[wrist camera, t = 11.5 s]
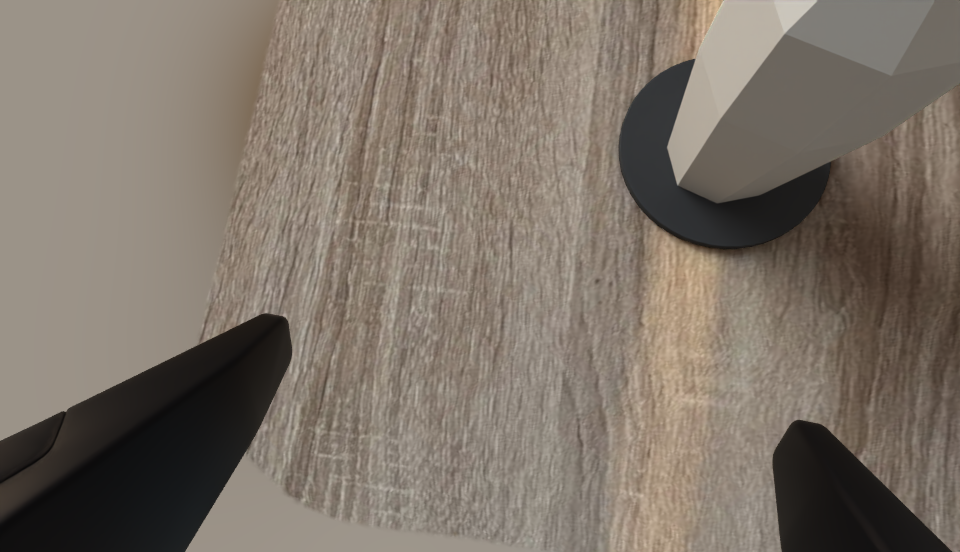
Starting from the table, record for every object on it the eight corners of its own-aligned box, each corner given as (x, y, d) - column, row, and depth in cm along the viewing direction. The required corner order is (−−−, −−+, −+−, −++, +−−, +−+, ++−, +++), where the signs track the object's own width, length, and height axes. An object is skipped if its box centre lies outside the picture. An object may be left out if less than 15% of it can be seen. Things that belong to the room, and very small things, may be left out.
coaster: (800, 276, 23) (805, 274, 23) (593, 214, 24) (595, 211, 24) (846, 89, 24) (851, 85, 24) (649, 39, 26) (651, 34, 25)
